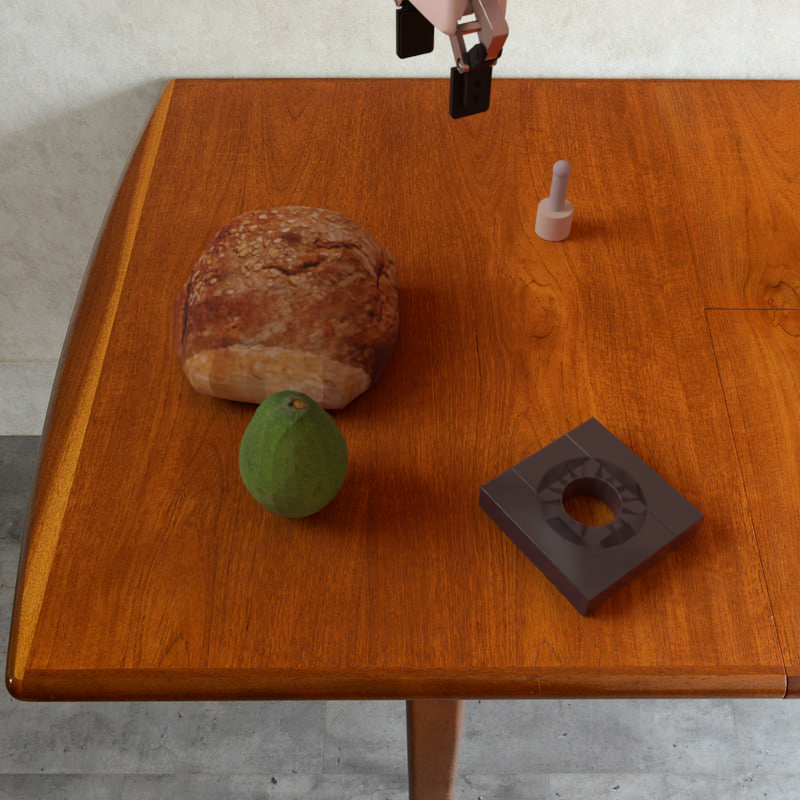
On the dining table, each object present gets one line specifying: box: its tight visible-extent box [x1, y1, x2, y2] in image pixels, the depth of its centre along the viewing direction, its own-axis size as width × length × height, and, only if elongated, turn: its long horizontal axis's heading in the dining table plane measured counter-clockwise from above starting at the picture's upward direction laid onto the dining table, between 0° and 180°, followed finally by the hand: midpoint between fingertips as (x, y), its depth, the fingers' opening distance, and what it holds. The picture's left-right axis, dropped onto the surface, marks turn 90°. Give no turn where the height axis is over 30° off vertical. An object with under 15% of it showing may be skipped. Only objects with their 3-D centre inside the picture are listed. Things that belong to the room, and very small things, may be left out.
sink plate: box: [478, 416, 705, 618], centre depth 69 cm, size 12×12×2 cm
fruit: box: [238, 390, 349, 519], centre depth 67 cm, size 8×8×12 cm
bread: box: [172, 205, 400, 410], centre depth 78 cm, size 20×18×10 cm
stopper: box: [534, 159, 575, 242], centre depth 90 cm, size 4×4×8 cm
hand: (440, 82), depth 71 cm, fingers open, 9 cm apart
